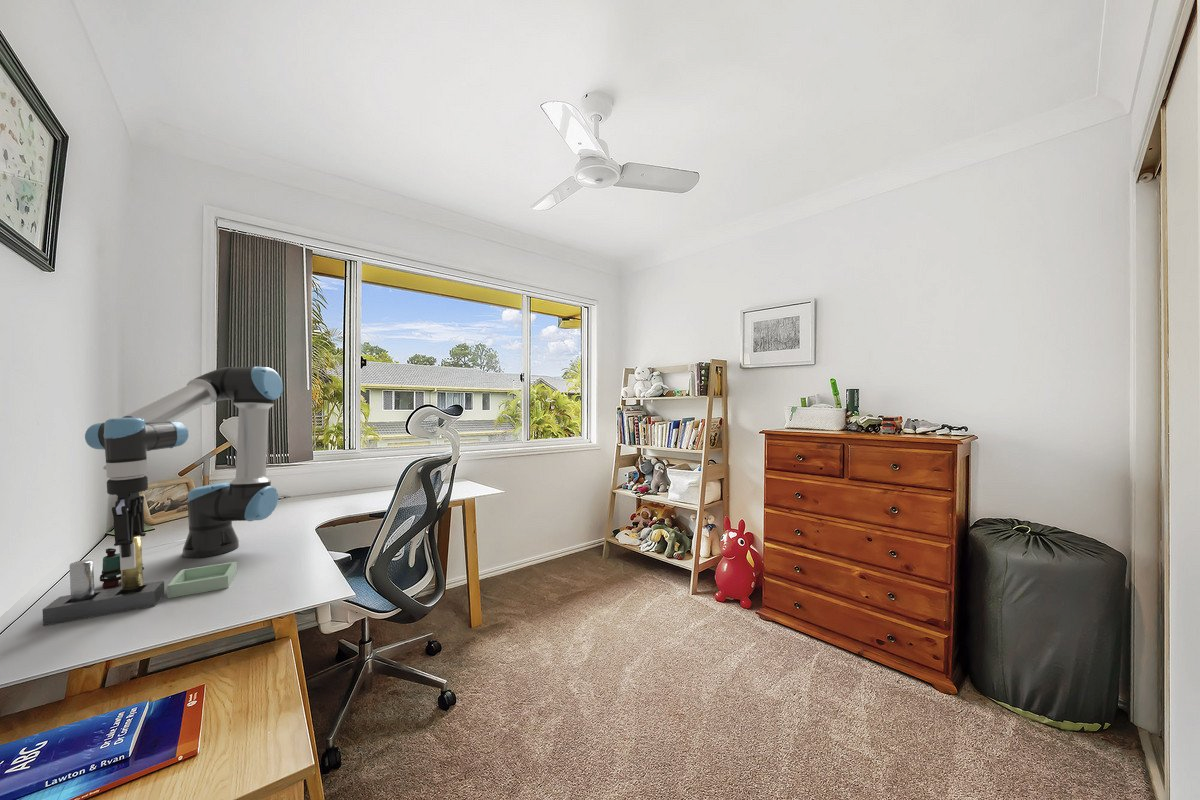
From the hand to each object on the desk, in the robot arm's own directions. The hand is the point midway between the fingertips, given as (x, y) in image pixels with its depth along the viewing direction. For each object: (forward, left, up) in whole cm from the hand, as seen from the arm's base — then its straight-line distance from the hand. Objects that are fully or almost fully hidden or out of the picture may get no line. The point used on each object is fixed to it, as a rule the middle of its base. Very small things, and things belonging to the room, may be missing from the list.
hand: (131, 565), depth 123 cm
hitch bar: (0, -5, -10) cm, 11 cm away
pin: (0, -9, -10) cm, 14 cm away
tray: (-7, +13, -10) cm, 18 cm away
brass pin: (0, 0, -6) cm, 6 cm away
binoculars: (-20, -8, -11) cm, 24 cm away
